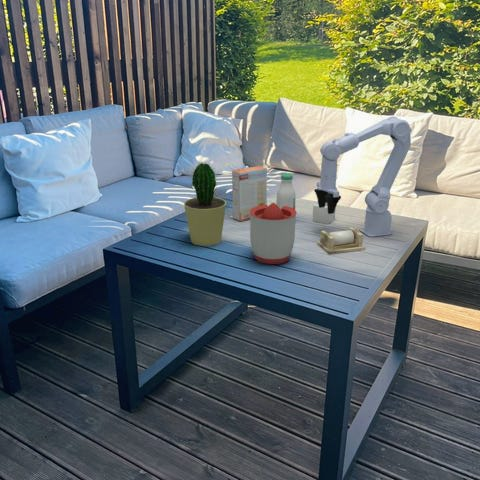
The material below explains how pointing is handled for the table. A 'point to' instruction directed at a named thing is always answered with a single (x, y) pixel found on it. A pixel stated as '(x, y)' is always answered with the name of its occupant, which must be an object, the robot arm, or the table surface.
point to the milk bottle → (286, 192)
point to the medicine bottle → (322, 214)
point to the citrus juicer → (272, 233)
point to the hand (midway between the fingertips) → (326, 210)
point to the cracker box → (248, 190)
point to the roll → (342, 237)
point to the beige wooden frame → (328, 245)
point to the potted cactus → (205, 208)
